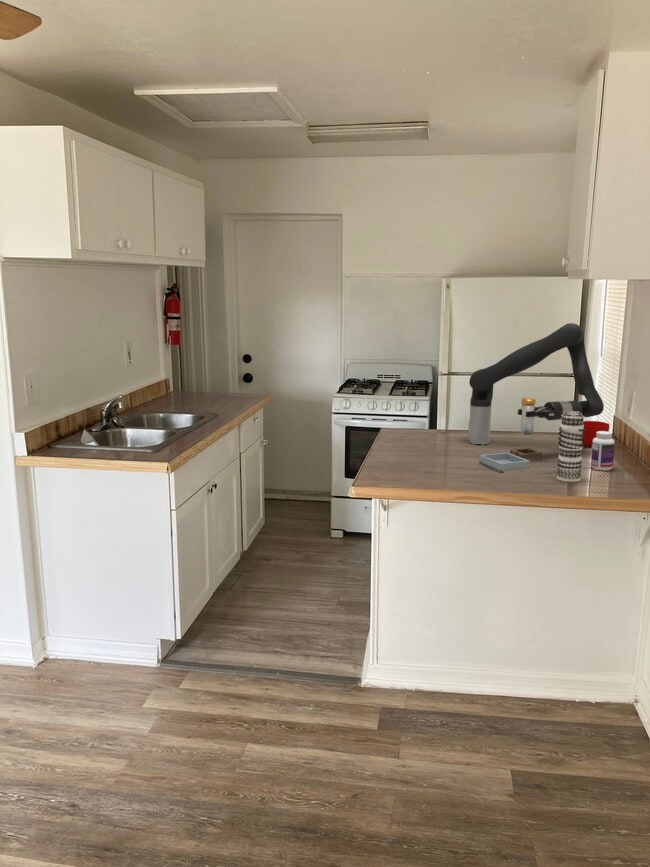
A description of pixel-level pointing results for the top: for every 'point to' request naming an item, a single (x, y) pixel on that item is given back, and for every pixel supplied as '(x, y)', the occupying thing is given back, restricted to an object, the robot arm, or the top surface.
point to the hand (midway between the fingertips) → (522, 413)
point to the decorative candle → (570, 446)
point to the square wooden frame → (527, 454)
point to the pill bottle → (602, 451)
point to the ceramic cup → (593, 431)
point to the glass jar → (527, 422)
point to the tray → (503, 462)
